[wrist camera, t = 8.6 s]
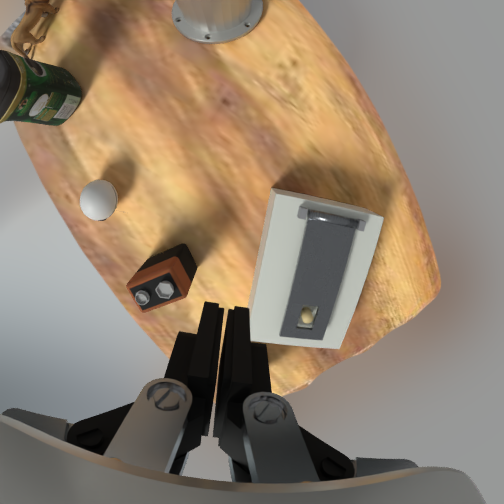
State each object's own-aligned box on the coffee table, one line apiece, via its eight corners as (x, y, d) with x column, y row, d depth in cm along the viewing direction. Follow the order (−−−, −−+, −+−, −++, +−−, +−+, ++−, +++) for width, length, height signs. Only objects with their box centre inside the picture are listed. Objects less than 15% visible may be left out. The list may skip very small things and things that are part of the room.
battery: (199, 268, 41) (186, 301, 32) (159, 283, 42) (139, 318, 32) (185, 241, 40) (168, 268, 30) (146, 258, 40) (121, 288, 31)
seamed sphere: (86, 203, 37) (66, 211, 32) (101, 170, 36) (82, 174, 30) (124, 230, 39) (108, 241, 33) (142, 197, 37) (127, 204, 32)
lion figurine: (47, -2, 23) (22, -17, 15) (68, -8, 24) (43, -26, 15) (21, 65, 28) (-11, 58, 19) (40, 61, 28) (7, 51, 20)
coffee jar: (34, 100, 31) (-47, 93, 13) (63, 62, 29) (-14, 36, 12) (59, 135, 33) (-29, 138, 16) (91, 95, 32) (7, 74, 14)
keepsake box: (271, 187, 37) (277, 195, 30) (365, 208, 39) (390, 220, 31) (245, 317, 44) (245, 348, 36) (329, 326, 45) (342, 356, 38)
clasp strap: (308, 208, 32) (310, 209, 31) (354, 218, 33) (358, 220, 32) (278, 332, 37) (279, 337, 36) (320, 336, 37) (322, 341, 36)
